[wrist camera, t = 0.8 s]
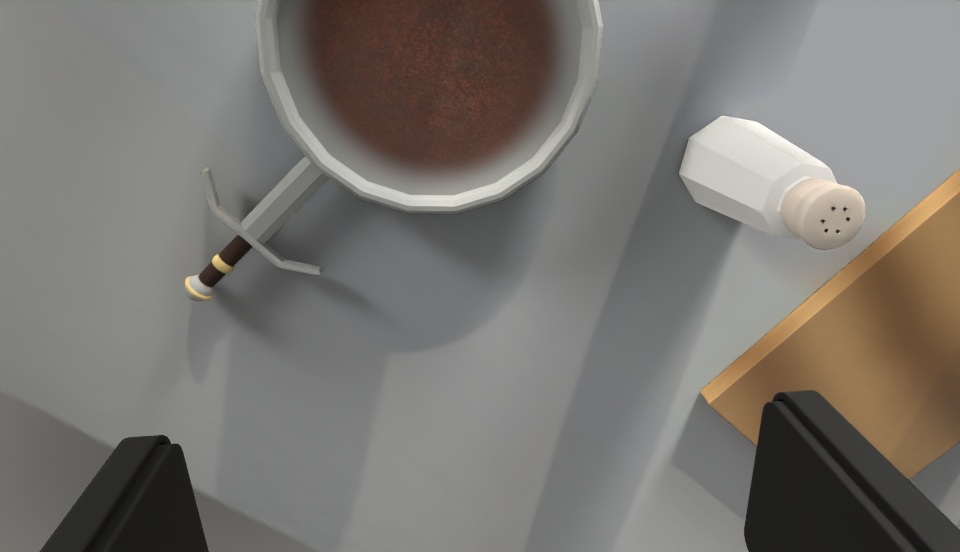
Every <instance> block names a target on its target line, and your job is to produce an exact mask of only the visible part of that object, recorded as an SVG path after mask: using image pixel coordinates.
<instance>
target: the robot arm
mask: <svg viewBox="0 0 960 552" xmlns="http://www.w3.org/2000/svg"><path fill="white" fill-rule="evenodd" d="M744 536H745V542H746V545H747V548H748V551H749V552H960V530H959V529H958V528H957V527H956V526H955V525H954V524H953V523H952V522H951V521H950V520H949V519H948V518H947V517H946V516H945V515H944V514H943V513H942V512H941V511H940V510H939V509H938V508H937V507H936V506H935V505H934V504H933V503H932V502H931V501H930V500H928V499H927V498H926V497H925V496H924V495H923V494H922V493H921V492H920V491H919V490H918V489H917V488H916V487H915V486H914V485H913V484H912V483H911V482H910V481H909V480H908V479H907V478H906V477H905V476H904V475H903V474H902V473H901V472H900V471H899V470H898V469H897V468H896V467H895V466H894V465H893V464H892V463H891V462H889V461H888V460H887V459H886V458H885V457H884V456H883V455H882V454H881V453H880V452H879V451H878V450H877V449H876V448H875V447H874V446H873V445H872V444H871V443H870V442H869V441H868V440H867V439H866V438H865V437H864V436H863V435H862V434H861V433H860V432H859V431H858V430H857V429H856V428H855V427H854V426H853V425H851V424H850V423H849V422H848V421H847V420H846V419H845V418H844V417H843V416H842V415H841V414H840V413H839V412H838V411H837V410H836V409H835V408H834V407H833V406H832V405H831V404H830V403H829V402H828V401H827V400H826V399H825V398H824V397H823V396H822V395H821V394H819V393H818V392H817V391H814V390H804V391H790V392H779V393H777V394H775V396H774V397H773V400H772V402H767V403H766V404H765V405H764V407H763V411H762V418H761V424H760V430H759V437H758V443H757V450H756V456H755V463H754V469H753V475H752V482H751V488H750V495H749V501H748V508H747V514H746V521H745V527H744ZM40 552H209V551H208V547H207V543H206V540H205V536H204V532H203V528H202V524H201V520H200V516H199V512H198V508H197V505H196V501H195V497H194V493H193V489H192V485H191V481H190V477H189V474H188V470H187V466H186V462H185V458H184V454H183V451H182V448H181V446H180V445H179V444H171V442H170V440H169V439H168V437H167V436H164V435H157V436H143V437H128V438H125V439H123V440H122V441H121V442H120V443H119V445H118V446H117V447H116V449H115V450H114V451H113V453H112V454H111V456H110V457H109V458H108V460H107V461H106V462H105V464H104V465H103V466H102V468H101V469H100V471H99V472H98V473H97V475H96V476H95V477H94V478H93V480H92V481H91V483H90V484H89V485H88V487H87V488H86V489H85V491H84V492H83V493H82V495H81V496H80V498H79V499H78V500H77V502H76V503H75V504H74V506H73V507H72V509H71V510H70V511H69V512H68V514H67V515H66V517H65V518H64V519H63V521H62V522H61V524H60V525H59V526H58V527H57V529H56V530H55V532H54V533H53V534H52V536H51V537H50V538H49V540H48V541H47V542H46V544H45V545H44V546H43V548H42V549H41V550H40Z"/></svg>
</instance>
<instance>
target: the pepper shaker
mask: <svg viewBox="0 0 960 552" xmlns="http://www.w3.org/2000/svg"><path fill="white" fill-rule="evenodd" d="M679 175H680V177H681V179H682V180H683V182H684V184H685V186H686V187H687V189H688V191H689V192H690V194H691V196H692V198H693V199H694V201H695V202H696V203H698V204H701V205H703V206H705V207H708V208H710V209H712V210H715V211H717V212H719V213H722V214H724V215H726V216H728V217H731V218H733V219H735V220H738V221H740V222H742V223H745V224H747V225H749V226H752V227H754V228H756V229H759V230H761V231H763V232H766V233H769V234H772V235H775V236H780V237H786V238H793V239H800V240H804V241H805V242H806V243H807V244H808V245H809V246H811V247H813V248H815V249H821V250H828V249H834V248H837V247H840V246H842V245H843V244H845V243H847V242H848V241H850V240H851V239H852V238H853V237H854V236H855V235H856V234H857V232H858V231H859V230H860V228H861V226H862V224H863V221H864V218H865V211H866V210H865V202H864V200H863V198H862V196H861V195H860V194H859V193H858V192H857V191H856V190H855V189H853V188H851V187H848V186H844V185H839V184H838V183H837V181H836V179H835V177H834V175H833V173H832V171H831V169H830V168H829V167H828V166H826V165H825V164H824V163H823V162H821V161H819V160H818V159H816V158H815V157H813V156H811V155H810V154H808V153H806V152H805V151H803V150H802V149H800V148H798V147H797V146H795V145H794V144H792V143H790V142H789V141H787V140H785V139H784V138H782V137H781V136H779V135H777V134H776V133H774V132H773V131H771V130H769V129H768V128H766V127H765V126H763V125H761V124H760V123H758V122H756V121H750V120H745V119H739V118H733V117H728V116H720V117H719V118H717V119H716V120H714V121H713V122H711V123H710V124H708V125H707V126H706V127H704V128H703V129H701V130H700V131H698V132H697V133H695V134H694V135H692V136H691V137H689V140H688V143H687V147H686V150H685V153H684V157H683V160H682V164H681V167H680V170H679Z"/></svg>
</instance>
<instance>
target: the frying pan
mask: <svg viewBox="0 0 960 552" xmlns="http://www.w3.org/2000/svg"><path fill="white" fill-rule="evenodd" d="M255 24H256V35H257V45H258V55H259V66H260V74H261V77H262V79H263V82H264V84H265V86H266V89H267V91H268V94H269V96H270V99H271V101H272V104H273V106H274V108H275V111H276V113H277V116H278V118H279V121H280V123H281V125H282V127H283V128H284V130H285V131H286V132H287V133H288V135H289V136H290V137H291V138H292V140H293V141H294V142H295V143H296V144H297V146H298V147H299V148H300V149H301V151H302V152H303V153H304V154H305V156H304V157H303V158H302V159H301V160H300V162H299V163H298V164H297V165H296V166H295V167H294V168H293V169H292V170H291V171H290V172H289V173H288V174H287V175H286V176H285V177H284V178H283V179H282V180H281V181H280V182H279V183H278V184H277V185H276V186H275V187H274V189H273V190H272V191H271V192H270V193H269V194H268V195H267V196H266V197H265V198H264V199H263V200H262V201H261V202H260V203H259V204H258V205H257V206H256V207H255V208H254V209H253V210H252V211H251V212H250V213H249V214H248V216H247V217H246V218H245V219H244V220H243V221H242V222H240V221H239V220H238V219H237V218H236V217H234V216H233V215H232V214H231V213H230V212H229V211H227V210H226V209H225V208H224V207H223V206H222V205H220V202H219V199H218V195H217V192H216V188H215V185H214V182H213V178H212V175H211V172H210V169H209V168H208V167H206V168H205V169H203V170H202V171H201V172H200V175H201V179H202V182H203V185H204V189H205V192H206V195H207V199H208V202H209V205H210V209H211V212H212V213H213V214H214V215H215V216H216V217H217V218H218V219H220V220H221V221H222V222H223V223H224V224H226V225H227V226H228V227H229V228H230V229H232V230H233V231H234V232H235V233H236V234H237V236H236V237H235V238H234V239H233V240H232V241H231V242H230V244H229V245H228V246H227V247H226V248H225V249H224V250H223V251H222V252H221V253H220V254H217V255H215V256H214V257H213V259H212V262H211V263H210V264H209V265H208V266H207V267H206V268H205V269H204V270H203V271H202V272H201V273H200V275H194V276H189V277H188V278H186V280H185V293H186V295H187V296H188V297H189V298H190V299H192V300H194V301H204V300H209V299H211V298H212V296H213V291H214V285H215V284H216V283H217V282H218V281H219V280H220V279H221V278H222V277H223V276H224V275H225V274H227V273H229V272H231V271H232V270H233V268H234V265H235V264H236V263H237V262H238V261H239V260H240V259H241V258H242V257H243V256H244V255H245V254H246V253H247V252H248V251H249V250H250V249H251V248H252V247H253V248H254V249H255V250H257V251H258V252H259V253H260V254H261V255H262V256H264V257H265V258H266V259H267V260H268V261H270V262H271V263H272V264H273V265H274V266H276V267H277V268H279V269H284V270H289V271H294V272H299V273H304V274H309V275H314V276H319V275H320V274H321V272H322V270H323V269H322V268H321V267H319V266H314V265H310V264H305V263H300V262H295V261H291V260H286V259H284V258H283V257H282V256H280V255H279V254H278V253H277V252H276V251H275V250H273V249H272V248H271V247H270V246H269V245H267V244H266V242H267V241H268V240H269V239H270V238H271V236H272V235H273V234H274V233H275V232H276V231H277V230H278V229H279V228H280V227H281V226H282V225H283V224H284V223H285V222H286V221H287V220H288V219H289V218H290V217H291V216H292V215H293V214H294V213H295V212H296V211H297V210H298V209H299V208H300V207H301V206H302V205H303V204H304V203H305V202H306V201H307V200H308V199H309V198H310V197H311V196H312V195H313V194H314V193H315V192H316V191H317V190H318V189H319V188H320V187H321V186H322V185H323V184H324V183H325V182H326V181H327V180H328V179H329V178H330V179H332V180H333V181H334V182H336V183H337V184H339V185H340V186H342V187H343V188H345V189H346V190H348V191H349V192H350V193H352V194H353V195H355V196H356V197H358V198H359V199H362V200H366V201H369V202H372V203H375V204H378V205H382V206H385V207H388V208H391V209H395V210H398V211H401V212H404V213H410V214H458V213H461V212H465V211H468V210H471V209H475V208H478V207H481V206H485V205H488V204H491V203H495V202H498V201H501V200H504V199H505V198H507V197H508V196H510V195H511V194H513V193H514V192H516V191H517V190H519V189H520V188H522V187H523V186H525V185H526V184H528V183H530V182H531V181H533V180H534V179H536V178H537V177H539V176H540V175H542V174H543V173H545V172H546V170H547V169H548V168H549V167H550V165H551V164H552V163H553V162H554V160H555V159H556V158H557V157H558V155H559V154H560V153H561V152H562V151H563V149H564V148H565V147H566V146H567V144H568V143H569V142H570V141H571V139H572V138H573V137H574V136H575V134H576V133H577V132H578V129H579V127H580V124H581V122H582V119H583V117H584V115H585V112H586V110H587V107H588V105H589V102H590V100H591V97H592V95H593V92H594V90H595V88H596V85H597V83H598V73H599V63H600V53H601V42H602V32H603V23H602V18H601V13H600V8H599V3H598V0H258V2H257V6H256V11H255Z"/></svg>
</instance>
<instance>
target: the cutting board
mask: <svg viewBox="0 0 960 552" xmlns="http://www.w3.org/2000/svg"><path fill="white" fill-rule="evenodd" d="M804 390H814V391H817V392H818V393H819V394H821V395H822V396H823V397H824V398H825V399H826V400H827V401H828V402H829V403H830V404H831V405H832V406H833V407H834V408H835V409H836V410H837V411H838V412H839V413H840V414H841V415H842V416H843V417H844V418H845V419H846V420H847V421H848V422H849V423H850V424H851V425H853V426H854V427H855V428H856V429H857V430H858V431H859V432H860V433H861V434H862V435H863V436H864V437H865V438H866V439H867V440H868V441H869V442H870V443H871V444H872V445H873V446H874V447H875V448H876V449H877V450H878V451H879V452H880V453H881V454H882V455H883V456H884V457H885V458H886V459H887V460H888V461H889V462H891V463H892V464H893V465H894V466H895V467H896V468H897V469H898V470H899V471H900V472H901V473H902V474H903V475H904V476H905V477H906V478H907V479H908V480H909V479H910V478H911V477H913V476H914V475H915V474H917V473H918V472H919V471H921V470H922V469H924V468H925V467H926V466H928V465H929V464H930V463H932V462H933V461H934V460H936V459H937V458H938V457H940V456H941V455H943V454H944V453H945V452H947V451H948V450H949V449H951V448H952V447H953V446H955V445H956V444H957V443H959V442H960V169H959V170H958V171H957V172H955V173H954V174H953V175H952V176H951V177H950V178H948V179H947V180H946V181H945V182H944V183H943V184H941V185H940V186H939V187H938V188H937V189H936V190H934V191H933V192H932V193H931V194H930V195H929V196H927V197H926V198H925V199H924V200H923V201H922V202H920V203H919V204H918V205H917V206H916V207H915V208H913V209H912V210H911V211H910V212H909V213H908V214H906V215H905V216H904V217H903V218H902V219H901V220H899V221H898V222H897V223H896V224H895V225H894V226H892V227H891V228H890V229H889V230H888V231H887V232H885V233H884V234H883V235H882V236H881V237H880V238H878V239H877V240H876V241H875V242H874V243H873V244H871V245H870V246H869V247H868V248H867V249H866V250H864V251H863V252H862V253H861V254H860V255H859V256H857V257H856V258H855V259H854V260H853V261H852V262H850V263H849V264H848V265H847V266H846V267H845V268H843V269H842V270H841V271H840V272H839V273H838V274H836V275H835V276H834V277H833V278H832V279H831V280H829V281H828V282H827V283H826V284H825V285H824V286H822V287H821V288H820V289H819V290H818V291H817V292H815V293H814V294H813V295H812V296H811V297H810V298H808V299H807V300H806V301H805V302H804V303H803V304H801V305H800V306H799V307H798V308H797V309H796V310H794V311H793V312H792V313H791V314H790V315H789V316H787V317H786V318H785V319H784V320H783V321H782V322H780V323H779V324H778V325H777V326H776V327H775V328H773V329H772V330H771V331H770V332H769V333H768V334H766V335H765V336H764V337H763V338H762V339H761V340H759V341H758V342H757V343H756V344H755V345H754V346H752V347H751V348H750V349H749V350H748V351H747V352H745V353H744V354H743V355H742V356H741V357H740V358H738V359H737V360H736V361H735V362H734V363H733V364H731V365H730V366H729V367H728V368H727V369H726V370H724V371H723V372H722V373H721V374H720V375H719V376H717V377H716V378H715V379H714V380H713V381H712V382H710V383H709V384H708V385H707V386H706V387H705V388H703V389H702V390H701V391H700V393H701V394H702V395H703V397H704V398H705V400H706V401H707V403H708V404H709V405H710V406H711V407H712V408H714V409H715V410H716V411H717V412H718V413H719V414H720V415H722V416H723V417H724V418H725V419H726V420H727V421H728V422H729V423H731V424H732V425H733V426H734V427H735V428H736V429H737V430H739V431H740V432H741V433H742V434H743V435H744V436H745V437H747V438H748V439H749V440H750V441H751V442H752V443H753V444H755V445H756V446H757V443H758V437H759V430H760V424H761V418H762V411H763V407H764V405H765V404H766V403H767V402H772V400H773V397H774V396H775V394H777V393H779V392H790V391H804Z"/></svg>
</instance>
